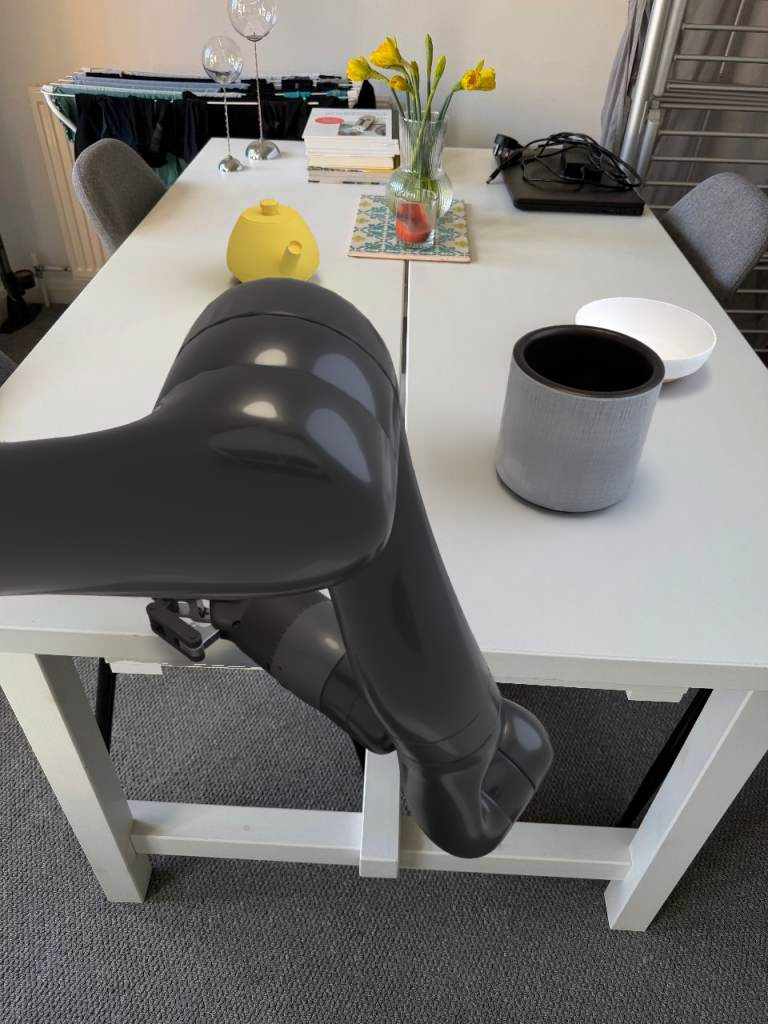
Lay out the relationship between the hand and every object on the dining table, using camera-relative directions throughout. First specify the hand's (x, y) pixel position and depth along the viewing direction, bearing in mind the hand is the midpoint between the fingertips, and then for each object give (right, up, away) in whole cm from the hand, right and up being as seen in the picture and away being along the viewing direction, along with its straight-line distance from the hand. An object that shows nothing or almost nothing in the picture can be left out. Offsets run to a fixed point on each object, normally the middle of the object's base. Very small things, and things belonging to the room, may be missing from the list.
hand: (184, 547), depth 65 cm
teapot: (0, +41, +60) cm, 72 cm away
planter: (+39, +7, +21) cm, 45 cm away
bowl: (+55, +25, +42) cm, 73 cm away
